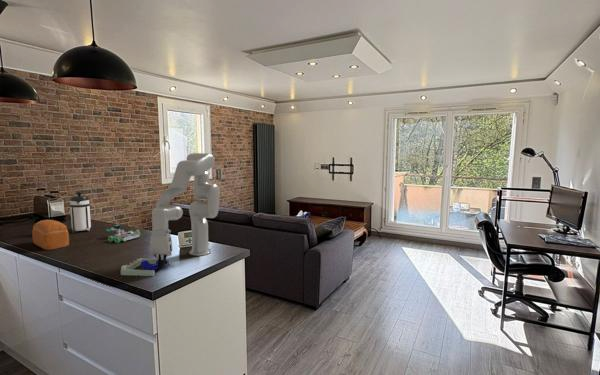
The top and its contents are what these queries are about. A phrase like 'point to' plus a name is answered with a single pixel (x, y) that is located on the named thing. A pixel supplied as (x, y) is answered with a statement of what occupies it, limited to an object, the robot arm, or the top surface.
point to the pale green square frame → (129, 270)
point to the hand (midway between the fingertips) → (161, 266)
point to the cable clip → (150, 267)
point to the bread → (50, 234)
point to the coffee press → (80, 213)
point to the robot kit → (122, 234)
